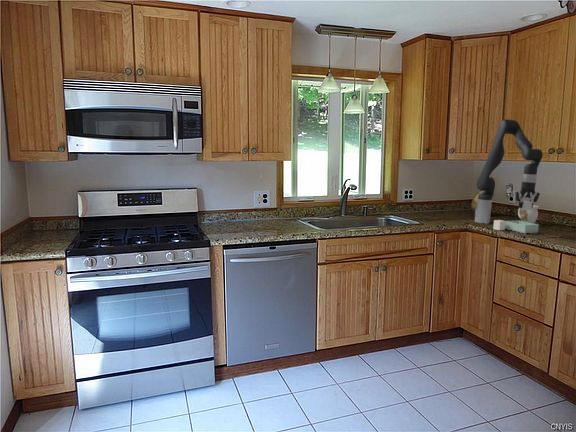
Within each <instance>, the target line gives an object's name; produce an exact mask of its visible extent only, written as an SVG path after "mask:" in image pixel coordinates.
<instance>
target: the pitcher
mask: <svg viewBox="0 0 576 432" xmlns="http://www.w3.org/2000/svg"><path fill="white" fill-rule="evenodd" d="M540 207H541V206H540V205H534V204H533V207H532V208H531V210H523V209H520V208H519V207H518V211H517V215H518V217H519V219H520V221H523V222H528V223H533V224H536V221H537V220H538V217H539V212H538V208H540Z"/></svg>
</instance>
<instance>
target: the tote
mask: <svg viewBox="0 0 576 432" xmlns="http://www.w3.org/2000/svg"><path fill="white" fill-rule="evenodd" d="M505 221H506V226H505V229H507V230H506V231H510V230H512V231H511V232H514V231H516V232H515V233H519V232H520V234H523V233H524V235H526V233H530V234H538V233H539V226H540V224H539V223H534V224H533V223H528V222H523V221H521V220H505Z"/></svg>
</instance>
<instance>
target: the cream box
mask: <svg viewBox="0 0 576 432" xmlns="http://www.w3.org/2000/svg"><path fill="white" fill-rule="evenodd" d="M506 221H507V220H502V219H495V220H493V225H492V226H493V227H492V229H493V230H495V231H506V230H505V226H506Z"/></svg>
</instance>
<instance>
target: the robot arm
mask: <svg viewBox="0 0 576 432" xmlns="http://www.w3.org/2000/svg"><path fill="white" fill-rule="evenodd" d="M506 135H512V136H514V137H515V144H516V146H517V148H518V149H519V150H520V153H521V156H522V158H523V159H524V160H526V161H531V162H530V163H528V164H525V165H524V166H523V167H524V169H523V175H522V181H521V185H520V190H519V191H515V192H514V194H515V195H514V196H515V201H516V202H518V209H519V208H522V201H525V199H529V200H528V201H531V202H532V207H533V205H534V203H537V201H538V199H539V197H540V195H541V193H540V192H536V191H535V190H536V185H537V176H538V175H537V174H538V168H539V165H540V163H541V161H542V159H543V156H544V155H543V154H544V153H543V151H542V150H541V149H538V148H533V143H532V142H531V141H530V140H529V139H528V138H527V137H526V135H525V134H524V131H523V129H522V127H521V125H520V124H519V122H518V121H517V120H514V119H501V121H500V122H499V124H498V126H497V129H496V133H495V136H494V139H493V143H492V145H491V148H490V151H489V153H488V155H487V159H486V162H485V164H484V165H483V167H482V171H481V173H480V175H479V177H478V178H477V181H476V188H477V190H479V191H480V190H484V192H483V193H482V194H480V195H478V202H477V209H476V212H475V215H474V222H475V223H478V224H483V223H484V225H485V224H487V225H488V224H490V220H491V211H492V208H491V203H492V202H493V197H494V194H495V188H496V181H495V178H493V177H490V176H491V174H492V172H493V171H495V170H496V168H497V167H498V166H499V165H500V164H501V163H502V161H503V158H504V156H505V152H506V151H505V146H504V138H505V136H506Z"/></svg>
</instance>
